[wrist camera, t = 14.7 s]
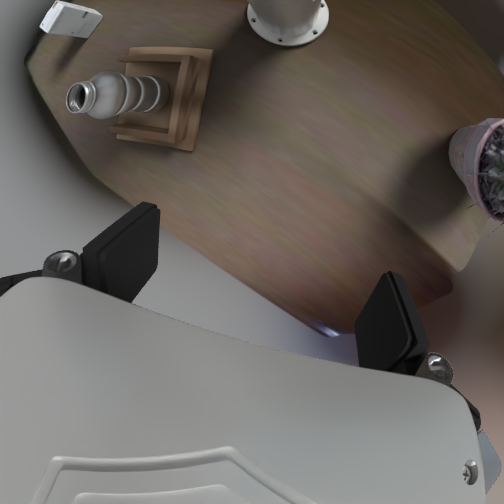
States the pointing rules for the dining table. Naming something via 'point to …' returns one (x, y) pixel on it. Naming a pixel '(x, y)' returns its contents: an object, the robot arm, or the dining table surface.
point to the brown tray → (180, 95)
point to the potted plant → (481, 164)
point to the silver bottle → (117, 95)
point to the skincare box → (70, 20)
